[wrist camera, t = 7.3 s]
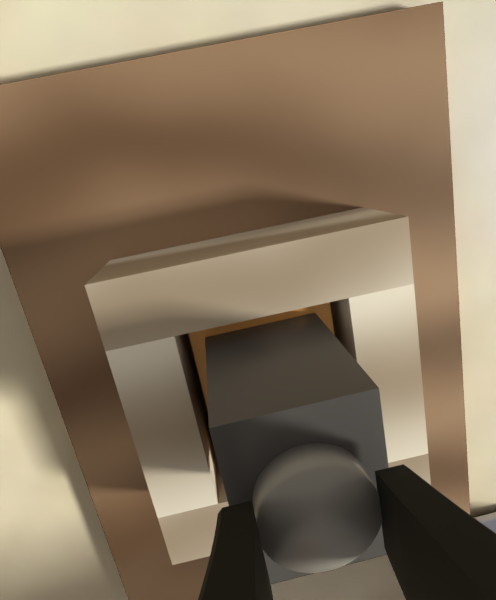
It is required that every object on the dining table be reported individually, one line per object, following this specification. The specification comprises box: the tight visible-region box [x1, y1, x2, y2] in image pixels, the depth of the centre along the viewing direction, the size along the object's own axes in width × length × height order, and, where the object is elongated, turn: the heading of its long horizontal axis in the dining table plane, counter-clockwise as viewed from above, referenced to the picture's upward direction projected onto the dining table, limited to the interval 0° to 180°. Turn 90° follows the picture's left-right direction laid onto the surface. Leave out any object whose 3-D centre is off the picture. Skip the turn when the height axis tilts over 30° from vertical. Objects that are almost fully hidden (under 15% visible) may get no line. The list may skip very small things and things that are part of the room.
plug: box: [205, 313, 389, 584], centre depth 12 cm, size 4×4×6 cm
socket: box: [0, 2, 470, 600], centre depth 16 cm, size 22×16×5 cm
